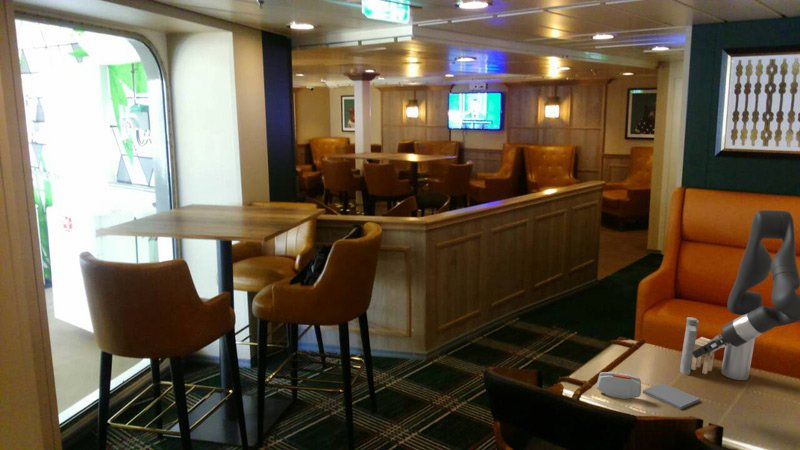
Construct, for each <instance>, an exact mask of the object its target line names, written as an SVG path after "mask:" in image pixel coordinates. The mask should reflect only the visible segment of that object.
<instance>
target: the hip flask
mask: <svg viewBox="0 0 800 450" xmlns="http://www.w3.org/2000/svg"><path fill="white" fill-rule="evenodd" d="M698 329H699V319H697V318H696V317H691V316H689V317H688V316H687V317H686V325H685V330H684V331H685V332H684V339H683V345H682V352H681V360H680V364H679V365H680V367H679V371H680V374H682V375H684V376H690V375H691V370H692V369H691V365H692V359H693V354H692V352H693V351H694V346H695V340H697V335H698V334H697V333H698Z"/></svg>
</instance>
